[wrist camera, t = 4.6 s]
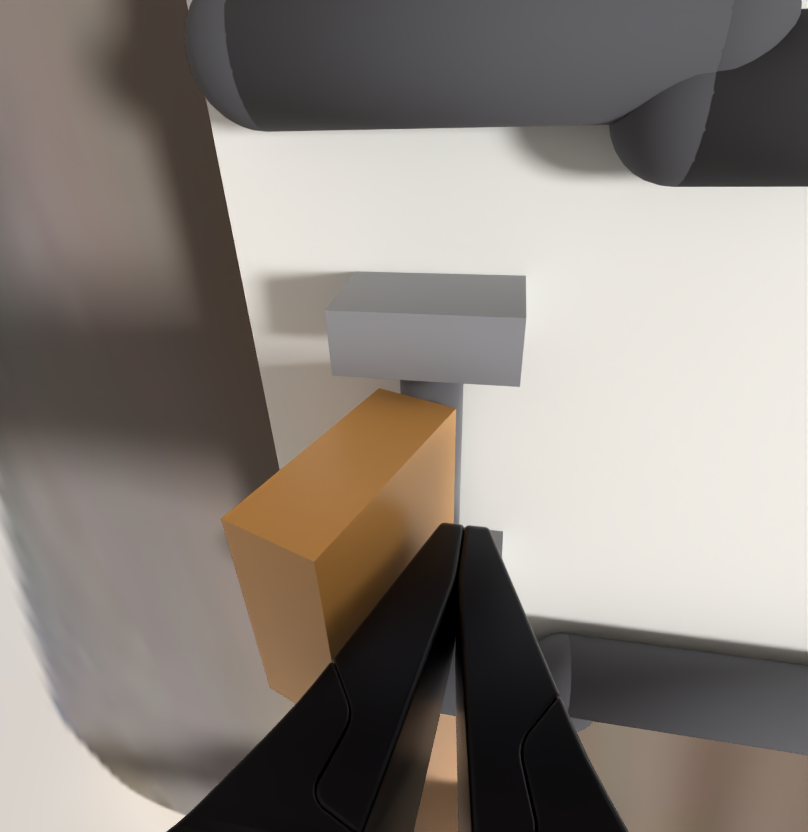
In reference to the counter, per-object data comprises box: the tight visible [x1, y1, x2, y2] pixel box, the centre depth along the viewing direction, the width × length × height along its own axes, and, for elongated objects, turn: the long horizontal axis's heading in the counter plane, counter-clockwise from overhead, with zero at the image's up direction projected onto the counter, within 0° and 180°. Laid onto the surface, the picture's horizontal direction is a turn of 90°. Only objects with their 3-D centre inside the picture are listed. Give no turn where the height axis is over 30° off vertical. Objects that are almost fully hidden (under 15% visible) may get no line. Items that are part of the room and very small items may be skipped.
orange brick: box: [221, 380, 463, 703], centre depth 10 cm, size 4×2×5 cm, turn 2°
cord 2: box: [440, 633, 808, 755], centre depth 14 cm, size 3×24×2 cm, turn 92°
